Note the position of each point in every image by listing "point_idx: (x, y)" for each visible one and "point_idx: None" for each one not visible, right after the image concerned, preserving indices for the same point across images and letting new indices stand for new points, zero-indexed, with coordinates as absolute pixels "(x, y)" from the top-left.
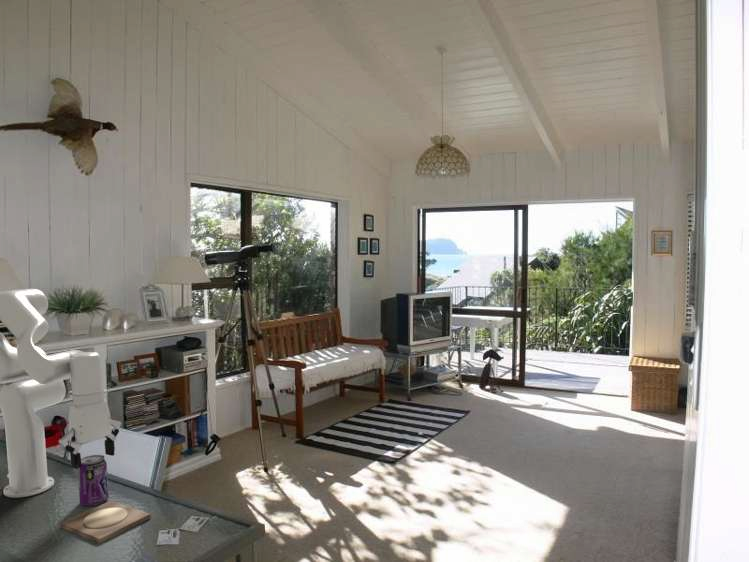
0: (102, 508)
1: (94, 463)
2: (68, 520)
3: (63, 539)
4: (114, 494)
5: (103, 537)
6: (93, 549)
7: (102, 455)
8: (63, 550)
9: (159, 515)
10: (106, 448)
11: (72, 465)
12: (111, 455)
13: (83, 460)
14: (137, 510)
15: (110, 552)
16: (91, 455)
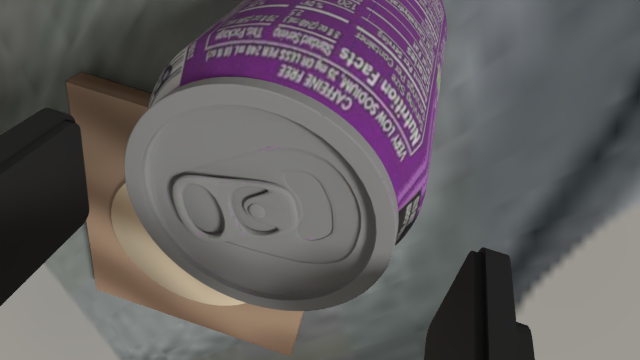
0: None
1: (211, 268)
2: (100, 101)
3: None
4: (482, 83)
5: (110, 292)
6: (79, 274)
7: (381, 267)
8: None
9: (325, 356)
10: (460, 330)
11: (44, 114)
12: (432, 323)
13: (201, 129)
14: (295, 313)
15: (99, 317)
16: (344, 143)
